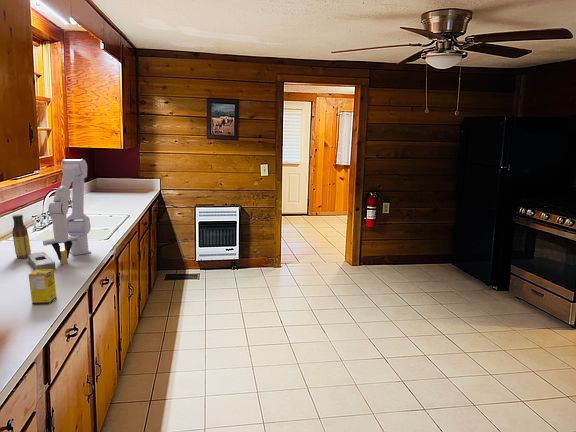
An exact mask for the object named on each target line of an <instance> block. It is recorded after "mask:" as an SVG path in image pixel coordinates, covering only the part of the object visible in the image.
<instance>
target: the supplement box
mask: <svg viewBox="0 0 576 432" xmlns="http://www.w3.org/2000/svg"><path fill="white" fill-rule="evenodd" d="M55 278H56V277H55V270H54V269H36V270H35V269H34V270H33V271H32V272H30V273H28V282H29V283H28V284H29V290H30V298H31V304H34V305H49V304H48V303H50V302H51V303H52V301H53V300H54V299H55V300H56V299H57V288H56V287H57V286H56V281H55V280H56V279H55ZM55 300H54V301H55ZM54 301H53V302H54ZM51 303H50V304H51Z"/></svg>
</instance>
